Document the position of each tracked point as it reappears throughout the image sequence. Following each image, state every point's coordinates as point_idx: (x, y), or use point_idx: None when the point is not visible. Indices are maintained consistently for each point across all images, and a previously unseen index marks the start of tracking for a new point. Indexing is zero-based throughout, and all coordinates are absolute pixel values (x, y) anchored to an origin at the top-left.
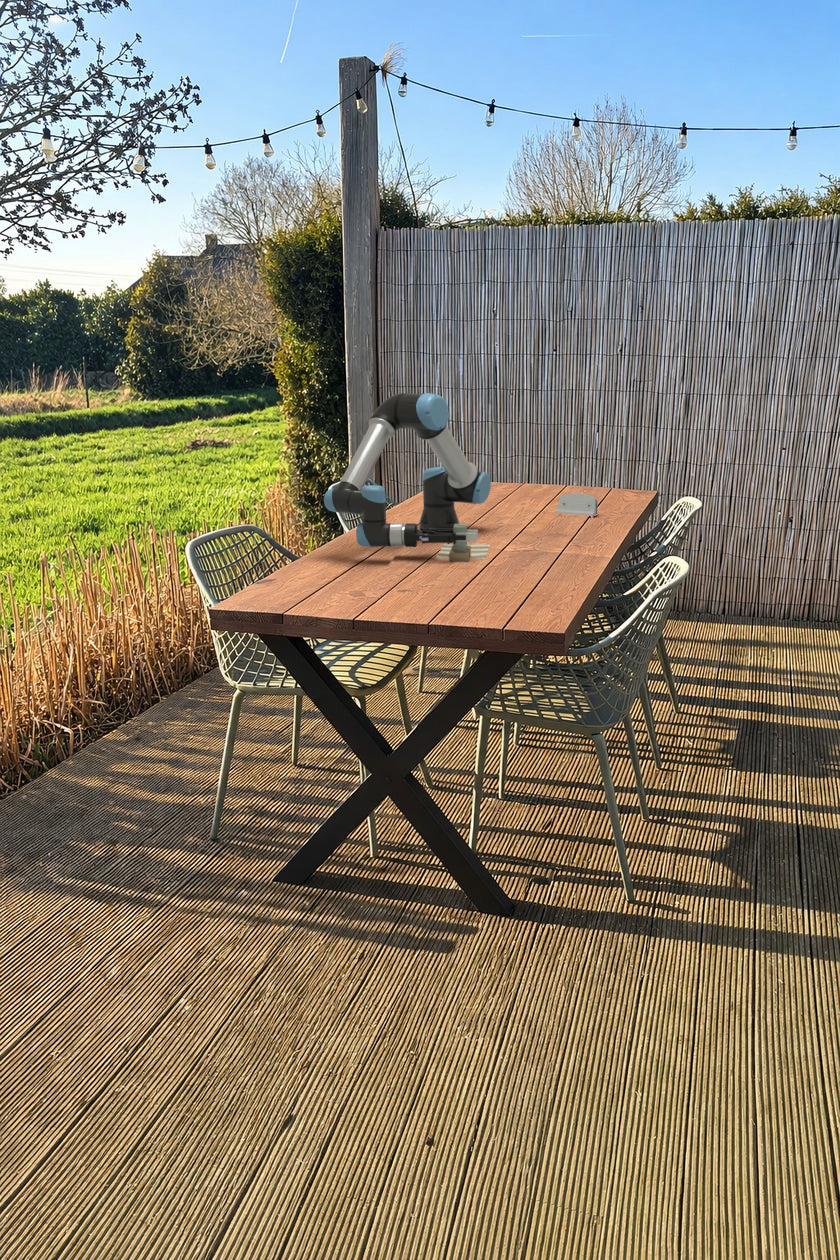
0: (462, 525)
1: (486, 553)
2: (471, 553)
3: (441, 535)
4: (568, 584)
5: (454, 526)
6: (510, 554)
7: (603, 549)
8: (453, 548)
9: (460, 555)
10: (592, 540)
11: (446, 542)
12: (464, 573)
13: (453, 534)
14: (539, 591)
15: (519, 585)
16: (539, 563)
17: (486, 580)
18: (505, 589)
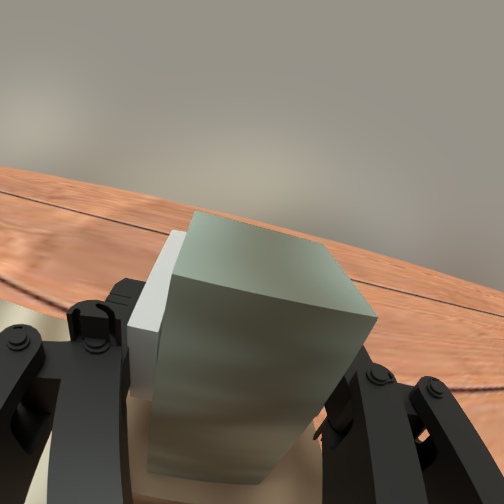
0: (261, 241)
1: None
2: None
3: (494, 463)
4: (375, 264)
5: (342, 303)
6: (67, 278)
7: (101, 190)
8: (266, 474)
9: (312, 440)
10: (32, 185)
11: (423, 467)
12: None
13: (394, 379)
14: (437, 295)
15: (429, 312)
16: None
17: (440, 361)
18: (465, 330)
